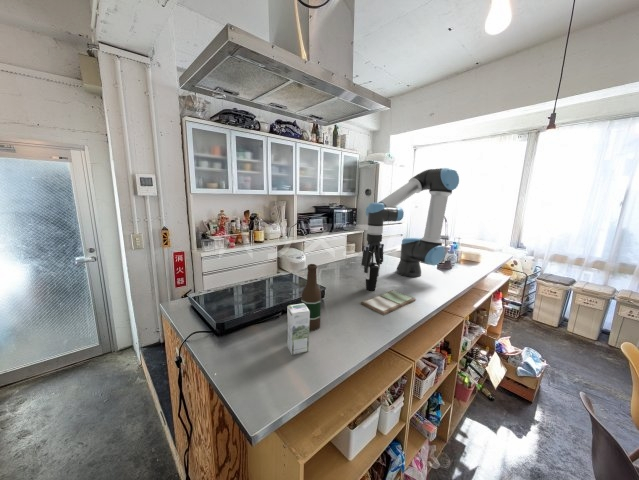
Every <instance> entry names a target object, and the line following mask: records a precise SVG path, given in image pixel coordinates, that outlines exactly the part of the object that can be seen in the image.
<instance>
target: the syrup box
mask: <svg viewBox="0 0 639 480" xmlns="http://www.w3.org/2000/svg"><path fill="white" fill-rule="evenodd" d="M286 309H287V310H286V311H287V313H286V314H287V315H286V316H287V317H286V318H287V320H286V322H287V324H286V346H287V348H288V350H289V352H290V354H291V356H295V355H299V354H304V353H307V352H309V349H310V348H309V346H310V344H309V343H310V330H309V322H310V311H309V309H308V308H307V306H306V305H305V304H304V303H302V304H301V303H297V304H288V305H287V308H286Z"/></svg>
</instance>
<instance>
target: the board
mask: <svg viewBox="0 0 639 480" xmlns="http://www.w3.org/2000/svg"><path fill="white" fill-rule="evenodd" d="M413 302H416V298H414V297H412V296H410V295H407V294H404V293H401V292H398V291H396V290H393V289H392V290H389V291H387V292H384V293H381V294H379V295H376V296H373V297H370V298H367V299H365V300H363V301H361V302H360V304H361V305H362V306H364V307H366V308H369V309H371V310H373V311H375V312H376V313H379V314H381V315H384V316H385V315H387V314H390V313H392V312H394V311H396V310H398V309H401V308H403V307H405V306H408V305H409V304H412V303H413Z"/></svg>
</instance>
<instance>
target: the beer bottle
mask: <svg viewBox="0 0 639 480" xmlns="http://www.w3.org/2000/svg"><path fill="white" fill-rule="evenodd" d="M306 269H307V275H306V285H305V286H304V287H303V290H302V293H301V299H300V300H301V302H300V304H302V303H304V304H305V305H306V306H307V308H308V309H309V311H310V322H309V331H315V330H316V331H317V330H318V329H320V328H321V316H322V315H321V313H322V311H321V310H322V307H321V306H322V291H321V289H320V287H319V285H318V282H317V269H318V266H317V264H314V263H310V264H307V267H306Z"/></svg>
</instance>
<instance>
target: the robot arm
mask: <svg viewBox="0 0 639 480" xmlns="http://www.w3.org/2000/svg"><path fill="white" fill-rule="evenodd" d="M459 183H460V177H459V173H458V171H457V170H456V169H455V168H451V167H441V168H428V169H425V170H423V171H421V172H420V173H417V174H416V175H414V176H412V177H411V178H410V179H408V182H407V183H405V184H404V185H402V186H401V187H399V188H398V189H396V190H394V191H393V192H391V193H390V194H388V195H387V196H386V197H385V198H383V199H381V200H380V201H378V202H370V203H369V204H368V205H367V206H366V208H365V215H366V217H367V230H366V231H367V234H366V241H367V245H366V246H365V245H364V246H362V251H363V252H362V257H361V258H362V259H361V266H363V273H364V274H363V275H364V276H363V278H364V279H365V280H366V279H369V274H370V267H369V264H370V262H372V255H373V256H374V259H375V263H377V264H379V265H380V267H381V265H383V262H384V246H385V245H384V244H383V243H382V241H383V232H384V231H383V230H384V223H385V222H395V223H396V222H400V221H402V220H403V219H404V212H405V211H404V209H403V208H402V207H400V206H399V205H400V204H401V203H404V202H405V201H406V200H408V199H409V198H410V197H412V196H413V195H415V194H419V193H420V192H422V191H423V192H424V191H427V190H428V192H429V193H428V194H430V200H429V207H428V211H427V218H426V222H425V229H424V234H423V236H422V237H404V238H403V239H402V240H401V247H400V259H399V262H398V264H397V267H396V271H395V273H396V274H398V275H399V276H403V277H408V278H418V277H421V276H422V268H421V265H420V262H422V263H424V264H426V265H432V266H436V265H438V264H441V262H442V261H443V260H444V258H445V255H446V250H445V247H444V246H443V241H442V240H441V237H442V236H441V235H442V231H443V225H444V219H445V213H446V209H447V204H448V203H447V202H448V198H449V196H451V195H452V193H453V191H454V190H455V189H457V187H458V186H459ZM380 267H379V271H378V277H380V269H381V268H380Z"/></svg>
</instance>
